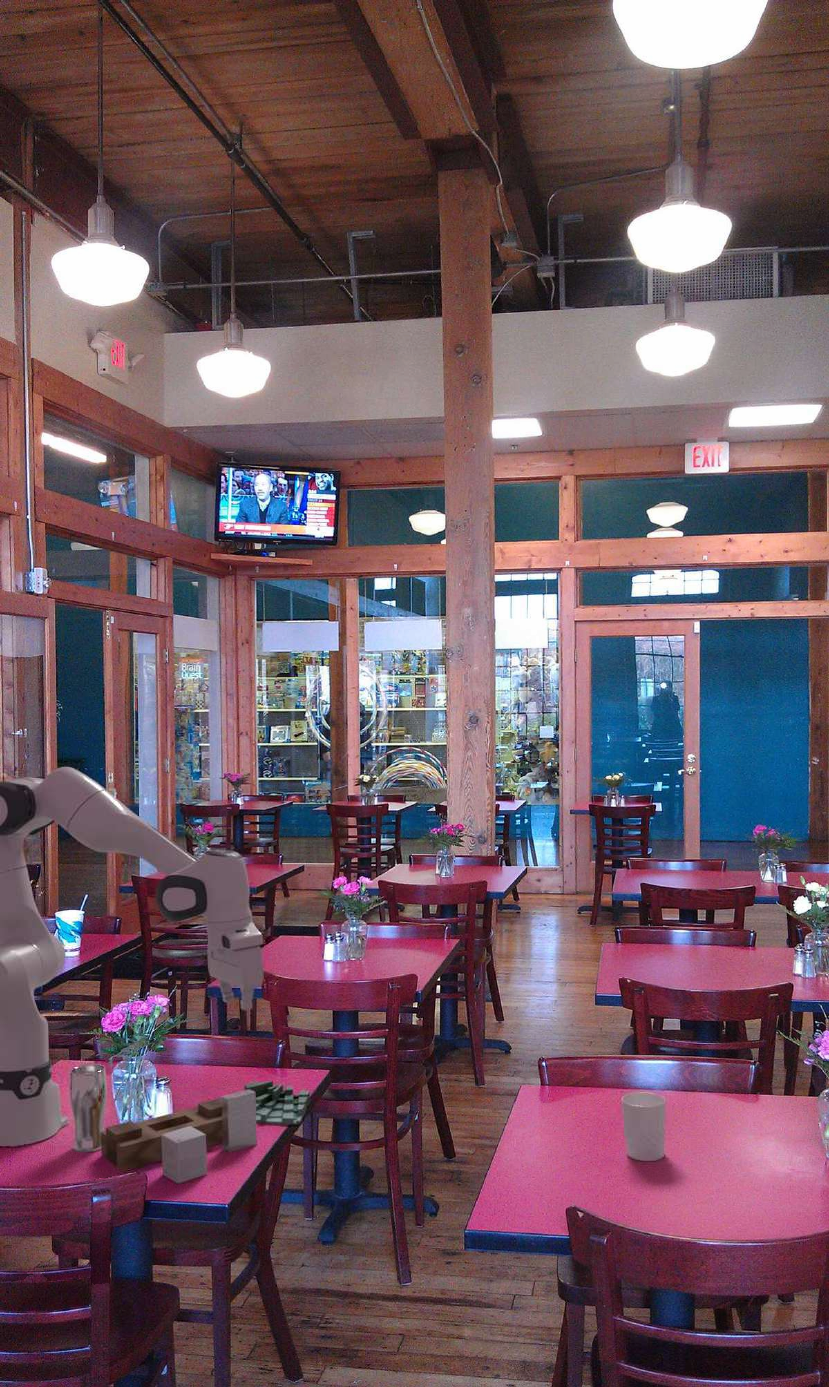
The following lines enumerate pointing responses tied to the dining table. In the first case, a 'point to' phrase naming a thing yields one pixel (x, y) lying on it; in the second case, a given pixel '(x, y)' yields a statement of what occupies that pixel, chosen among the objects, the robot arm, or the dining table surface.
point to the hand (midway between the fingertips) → (237, 1005)
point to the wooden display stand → (158, 1134)
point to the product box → (184, 1154)
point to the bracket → (239, 1120)
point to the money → (278, 1103)
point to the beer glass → (88, 1105)
